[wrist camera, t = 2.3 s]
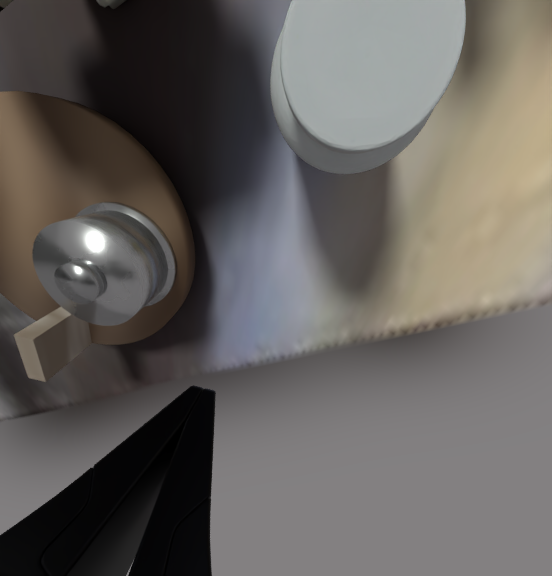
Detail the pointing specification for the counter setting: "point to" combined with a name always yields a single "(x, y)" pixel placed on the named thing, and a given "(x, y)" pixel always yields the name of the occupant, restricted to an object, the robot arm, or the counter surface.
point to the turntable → (67, 204)
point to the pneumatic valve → (112, 0)
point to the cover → (105, 263)
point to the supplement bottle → (362, 76)
